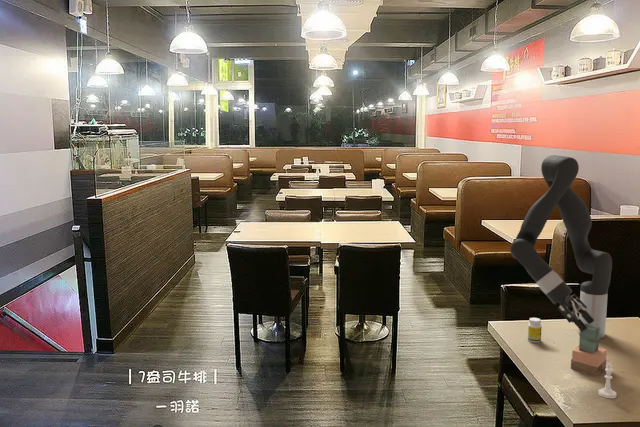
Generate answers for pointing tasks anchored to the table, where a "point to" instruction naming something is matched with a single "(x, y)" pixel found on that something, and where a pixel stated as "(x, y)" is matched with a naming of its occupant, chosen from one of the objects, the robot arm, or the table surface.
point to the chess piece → (607, 385)
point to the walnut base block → (588, 368)
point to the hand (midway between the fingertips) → (588, 326)
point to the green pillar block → (589, 339)
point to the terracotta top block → (589, 357)
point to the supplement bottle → (534, 330)
